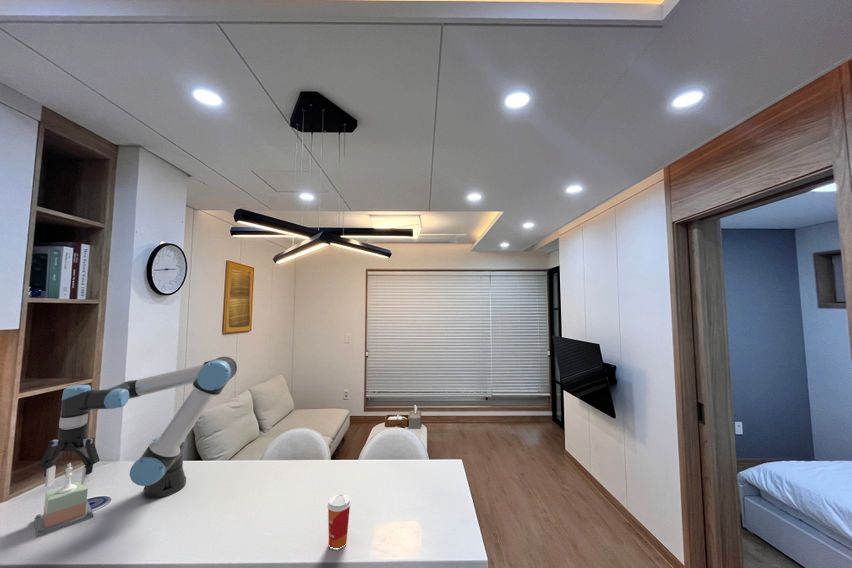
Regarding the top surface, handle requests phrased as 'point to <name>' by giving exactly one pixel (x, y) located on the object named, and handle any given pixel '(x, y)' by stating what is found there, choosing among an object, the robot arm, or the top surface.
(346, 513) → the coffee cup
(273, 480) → the top surface
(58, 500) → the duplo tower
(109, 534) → the top surface
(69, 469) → the chess piece
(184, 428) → the robot arm
